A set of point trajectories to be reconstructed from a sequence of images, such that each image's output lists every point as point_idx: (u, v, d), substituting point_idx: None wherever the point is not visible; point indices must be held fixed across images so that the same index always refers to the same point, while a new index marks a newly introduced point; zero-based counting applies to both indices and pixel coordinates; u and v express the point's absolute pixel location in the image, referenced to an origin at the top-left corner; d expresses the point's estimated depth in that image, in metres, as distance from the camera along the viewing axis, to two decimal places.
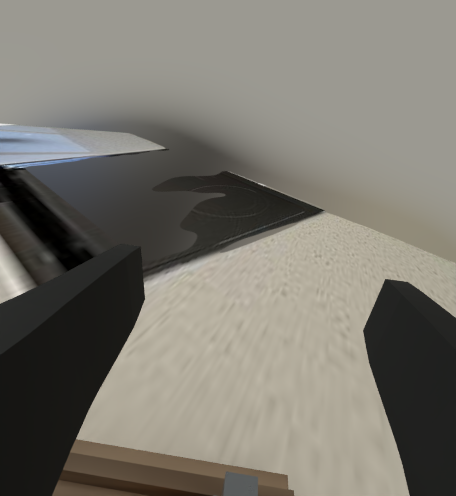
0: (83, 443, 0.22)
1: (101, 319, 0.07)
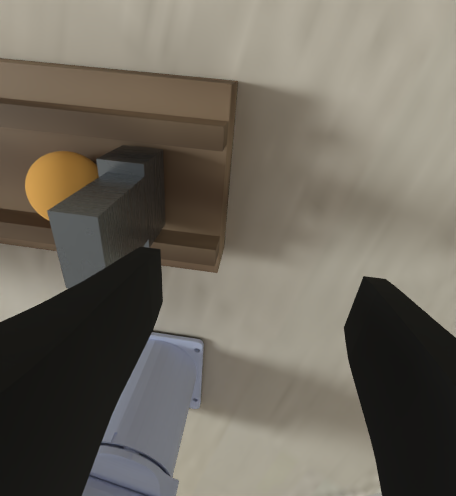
0: None
1: (126, 323, 0.07)
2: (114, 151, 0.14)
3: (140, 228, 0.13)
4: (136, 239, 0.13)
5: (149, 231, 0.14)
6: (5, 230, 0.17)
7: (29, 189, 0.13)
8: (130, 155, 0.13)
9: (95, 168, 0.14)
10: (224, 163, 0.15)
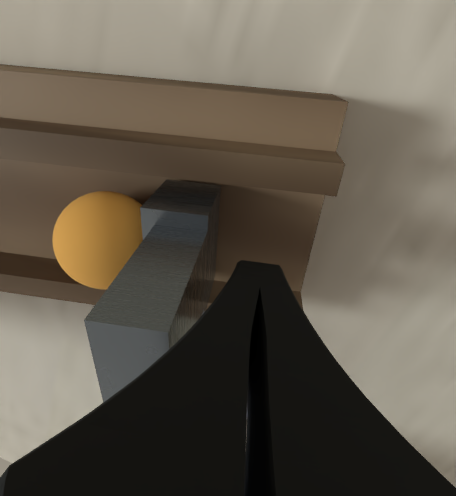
0: None
1: (250, 341, 0.07)
2: (160, 192, 0.10)
3: (200, 301, 0.09)
4: (196, 319, 0.09)
5: (205, 298, 0.10)
6: (27, 286, 0.13)
7: (57, 246, 0.10)
8: (183, 198, 0.10)
9: None
10: (320, 205, 0.11)
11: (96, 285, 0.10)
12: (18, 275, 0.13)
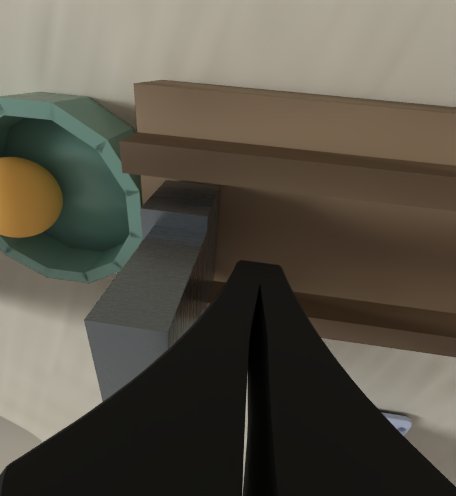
0: (237, 99, 0.10)
1: (249, 341, 0.07)
2: (159, 192, 0.10)
3: (199, 301, 0.09)
4: (195, 319, 0.09)
5: (204, 298, 0.11)
6: None
7: (58, 184, 0.14)
8: (183, 199, 0.10)
9: None
10: None
11: None
12: None
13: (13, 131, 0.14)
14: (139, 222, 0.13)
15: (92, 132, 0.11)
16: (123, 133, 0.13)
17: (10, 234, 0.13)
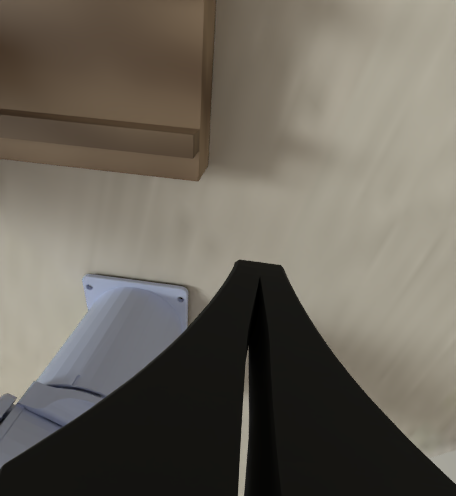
0: None
1: (247, 341, 0.07)
2: None
3: None
4: None
5: None
6: None
7: None
8: None
9: None
10: (202, 21, 0.12)
11: None
12: None
13: None
14: None
15: None
16: None
17: None
